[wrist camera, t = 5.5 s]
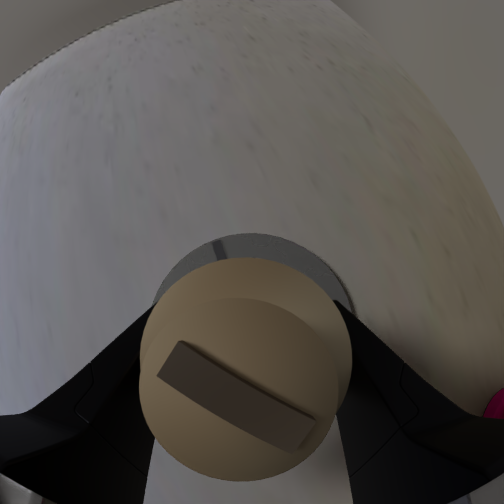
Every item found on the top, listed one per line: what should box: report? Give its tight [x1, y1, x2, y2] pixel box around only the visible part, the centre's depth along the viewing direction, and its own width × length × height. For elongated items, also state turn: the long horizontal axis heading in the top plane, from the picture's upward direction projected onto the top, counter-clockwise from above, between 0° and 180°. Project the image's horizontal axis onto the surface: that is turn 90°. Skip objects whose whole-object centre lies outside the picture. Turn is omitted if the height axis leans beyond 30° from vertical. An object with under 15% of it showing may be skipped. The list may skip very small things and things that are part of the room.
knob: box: [139, 257, 352, 481], centre depth 9 cm, size 5×5×13 cm
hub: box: [152, 233, 352, 313], centre depth 20 cm, size 15×15×2 cm
